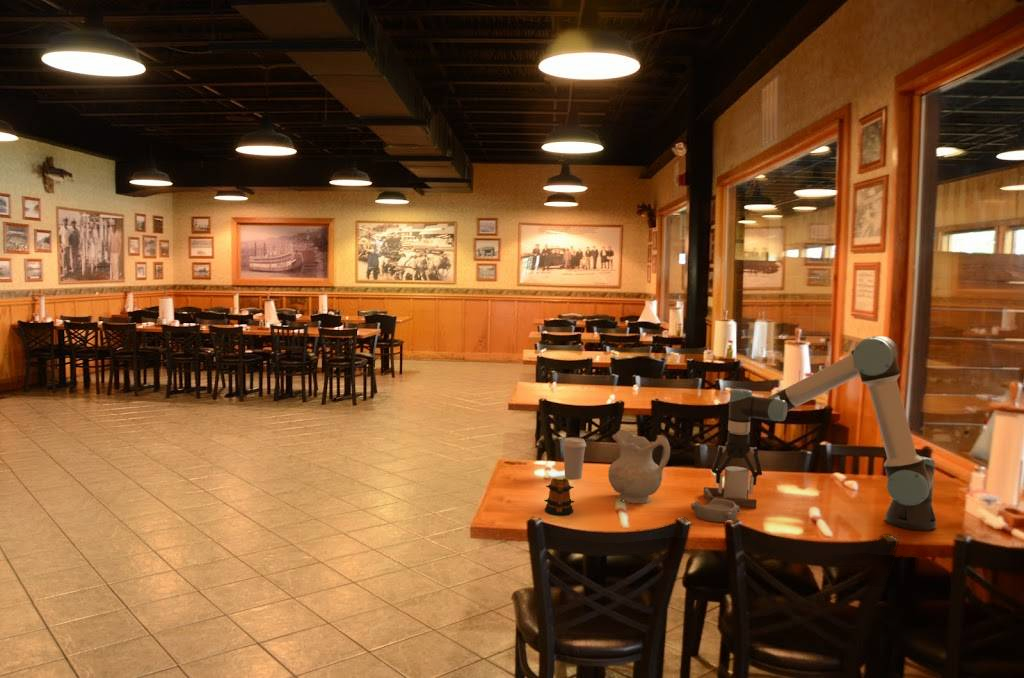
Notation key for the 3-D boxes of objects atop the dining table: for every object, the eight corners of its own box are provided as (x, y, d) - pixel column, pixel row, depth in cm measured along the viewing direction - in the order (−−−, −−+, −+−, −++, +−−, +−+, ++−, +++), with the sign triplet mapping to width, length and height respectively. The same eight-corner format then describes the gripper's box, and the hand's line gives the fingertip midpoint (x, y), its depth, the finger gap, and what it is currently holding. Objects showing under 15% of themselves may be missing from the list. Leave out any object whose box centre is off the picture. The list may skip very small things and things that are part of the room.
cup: (721, 498, 285) (723, 465, 284) (744, 499, 284) (746, 467, 283) (725, 504, 277) (727, 471, 276) (748, 506, 276) (750, 472, 275)
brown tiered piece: (543, 506, 269) (545, 473, 268) (573, 507, 268) (574, 474, 267) (543, 518, 256) (544, 484, 255) (574, 519, 255) (576, 485, 254)
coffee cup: (556, 475, 310) (558, 437, 308) (577, 473, 314) (579, 436, 312) (568, 481, 301) (569, 443, 300) (589, 479, 305) (591, 441, 304)
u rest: (756, 508, 273) (756, 500, 273) (709, 506, 275) (710, 497, 274) (747, 497, 287) (747, 489, 286) (703, 495, 288) (703, 487, 288)
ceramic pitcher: (670, 498, 286) (673, 431, 285) (666, 510, 267) (669, 437, 267) (611, 492, 292) (614, 426, 291) (603, 503, 273) (606, 432, 272)
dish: (686, 516, 263) (687, 502, 262) (708, 508, 272) (709, 494, 272) (724, 527, 252) (725, 512, 252) (746, 518, 262) (747, 504, 262)
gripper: (768, 431, 281) (764, 491, 283) (704, 428, 283) (701, 488, 285) (774, 435, 274) (770, 497, 276) (708, 433, 275) (705, 494, 277)
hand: (735, 492), depth 280 cm, fingers open, 10 cm apart
